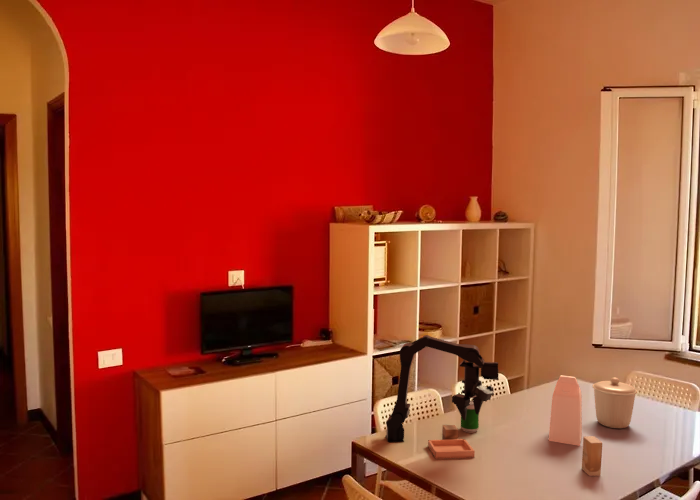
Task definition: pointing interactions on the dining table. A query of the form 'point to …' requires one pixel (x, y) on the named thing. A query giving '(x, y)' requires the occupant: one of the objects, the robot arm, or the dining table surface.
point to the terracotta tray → (451, 448)
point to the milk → (566, 412)
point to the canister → (614, 403)
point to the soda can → (470, 420)
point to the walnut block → (449, 432)
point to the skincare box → (592, 456)
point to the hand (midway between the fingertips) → (470, 417)
